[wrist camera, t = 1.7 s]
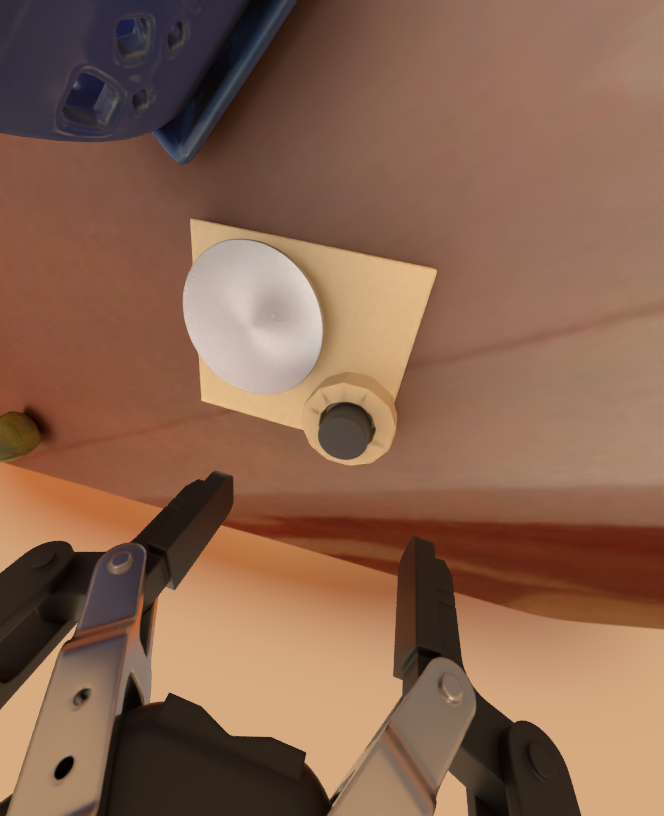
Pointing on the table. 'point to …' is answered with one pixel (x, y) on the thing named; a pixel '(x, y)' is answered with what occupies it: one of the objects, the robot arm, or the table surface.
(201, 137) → the flower pot
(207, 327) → the weighing plate
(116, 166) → the table surface
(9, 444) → the lime
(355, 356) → the scale
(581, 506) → the table surface
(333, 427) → the tare button
